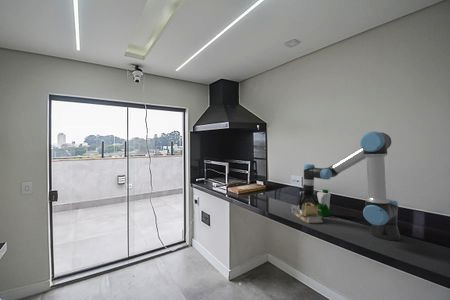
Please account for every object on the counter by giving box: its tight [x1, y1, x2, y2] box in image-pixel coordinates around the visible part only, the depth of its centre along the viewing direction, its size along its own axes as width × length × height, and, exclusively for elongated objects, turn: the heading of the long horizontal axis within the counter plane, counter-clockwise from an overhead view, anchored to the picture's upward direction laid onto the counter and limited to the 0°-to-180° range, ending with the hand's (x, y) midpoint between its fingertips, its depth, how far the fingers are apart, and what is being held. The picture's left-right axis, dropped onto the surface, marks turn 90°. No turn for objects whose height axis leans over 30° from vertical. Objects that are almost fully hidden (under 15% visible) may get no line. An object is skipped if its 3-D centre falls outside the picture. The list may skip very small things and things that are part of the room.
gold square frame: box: [297, 202, 319, 216], centre depth 158 cm, size 10×10×7 cm
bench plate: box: [293, 212, 324, 224], centre depth 158 cm, size 19×12×2 cm, turn 12°
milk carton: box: [316, 189, 331, 218], centre depth 167 cm, size 9×9×20 cm
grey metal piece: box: [294, 208, 323, 221], centre depth 158 cm, size 19×10×7 cm, turn 12°
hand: (307, 213), depth 158 cm, fingers closed on gold square frame, 10 cm apart
